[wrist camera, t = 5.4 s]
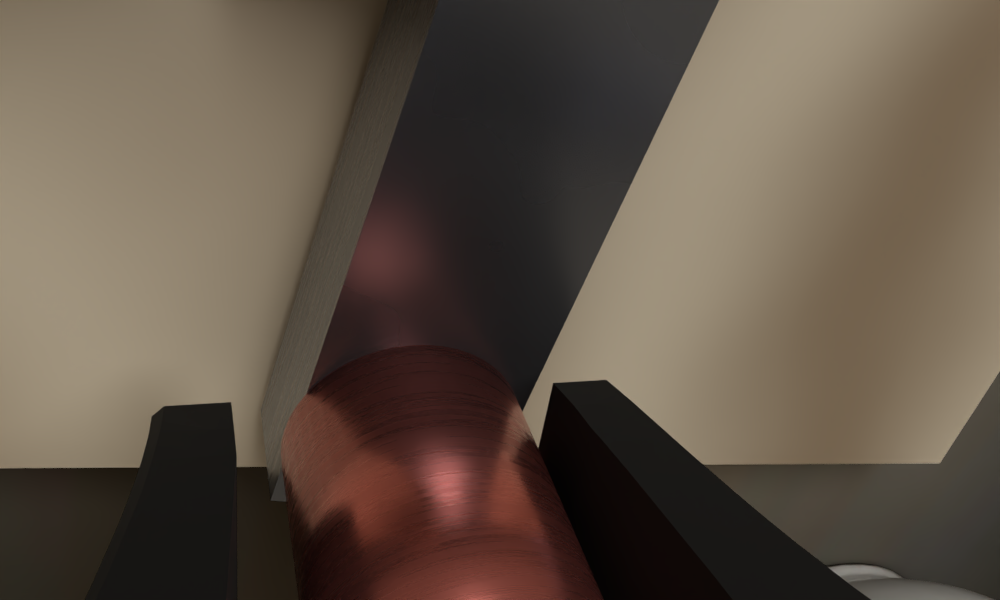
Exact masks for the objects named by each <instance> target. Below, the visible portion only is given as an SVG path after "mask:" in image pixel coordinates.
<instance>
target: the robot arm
mask: <svg viewBox="0 0 1000 600" xmlns="http://www.w3.org/2000/svg"><path fill="white" fill-rule="evenodd" d="M538 449H539V452H540V454H541V456H542V458H543V461H544V463H545V465H546V468H547V470H548V472H549V475H550V477H551V479H552V482H553V484H554V486H555V488H556V491H557V493H558V495H559V498H560V500H561V502H562V505H563V507H564V509H565V512H566V514H567V516H568V518H569V521H570V523H571V525H572V528H573V530H574V532H575V535H576V537H577V539H578V541H579V544H580V546H581V548H582V551H583V553H584V555H585V558H586V560H587V562H588V565H589V567H590V569H591V571H592V574H593V576H594V578H595V581H596V583H597V585H598V588H599V590H600V592H601V595H602V597H603V599H604V600H871V599H870V598H868V597H867V596H865V595H864V594H863V593H861V592H860V591H858V590H857V589H856V588H854V587H853V586H852V585H850V584H849V583H848V582H846V581H845V580H844V579H842V578H841V577H840V576H839V575H837V574H836V573H835V572H833V571H832V570H831V569H829V568H828V567H827V566H826V565H824V564H823V563H822V562H820V561H819V560H818V559H816V558H815V557H814V556H813V555H811V554H810V553H809V552H807V551H806V550H805V549H803V548H802V547H801V546H799V545H798V544H797V543H796V542H794V541H793V540H792V539H791V538H790V537H788V536H787V535H786V534H785V533H783V532H782V531H781V530H780V529H778V528H777V527H776V526H775V525H773V524H772V523H771V522H770V521H769V520H767V519H766V518H765V517H764V516H763V515H761V514H760V513H759V512H758V511H757V510H755V509H754V508H753V507H752V506H751V505H749V504H748V503H747V502H746V501H745V500H743V499H742V498H741V497H740V496H739V495H738V494H736V493H735V492H734V491H733V490H732V489H731V488H729V487H728V486H727V485H726V484H725V483H724V482H722V481H721V480H720V479H719V478H718V477H717V476H716V475H714V474H713V473H712V472H711V471H710V470H709V469H708V468H706V467H705V466H704V465H703V464H702V463H701V462H700V461H698V460H697V459H696V458H695V457H694V456H693V455H692V454H691V453H689V452H688V451H687V450H686V449H685V448H684V447H683V446H681V445H680V444H679V443H678V442H677V441H676V440H675V439H674V438H672V437H671V436H670V435H669V434H668V433H667V432H666V431H665V430H664V429H662V428H661V427H660V426H659V425H658V424H657V423H656V422H655V421H653V420H652V419H651V418H650V417H649V416H648V415H647V414H646V413H644V412H643V411H642V410H641V409H640V408H639V407H638V406H637V405H635V404H634V403H633V402H632V401H631V400H630V399H629V398H627V397H626V396H625V395H624V394H623V393H622V392H620V391H619V390H618V389H617V388H616V387H614V386H613V385H612V384H611V383H610V382H608V381H607V380H595V381H578V382H561V383H553V386H552V390H551V395H550V399H549V403H548V408H547V412H546V417H545V421H544V425H543V430H542V434H541V439H540V443H539V447H538ZM85 600H237V454H236V444H235V433H234V423H233V414H232V405H231V402H225V403H208V404H192V405H175V406H164V407H162V408H161V409H160V410H159V411H158V412H156V413H155V414H154V415H153V416H152V417H151V423H150V430H149V435H148V439H147V443H146V447H145V450H144V454H143V458H142V461H141V464H140V467H139V470H138V473H137V476H136V479H135V482H134V485H133V488H132V490H131V493H130V496H129V498H128V501H127V504H126V506H125V509H124V512H123V514H122V517H121V519H120V522H119V524H118V526H117V529H116V531H115V533H114V536H113V538H112V540H111V542H110V545H109V547H108V549H107V551H106V554H105V556H104V558H103V561H102V563H101V565H100V567H99V570H98V572H97V574H96V576H95V579H94V581H93V583H92V585H91V588H90V590H89V592H88V594H87V596H86V598H85Z"/></svg>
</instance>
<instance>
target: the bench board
mask: <svg viewBox="0 0 1000 600" xmlns="http://www.w3.org/2000/svg"><path fill="white" fill-rule="evenodd" d="M387 1H388V0H0V468H139V467H140V464H141V461H142V458H143V454H144V450H145V447H146V443H147V439H148V435H149V430H150V423H151V417H152V416H153V415H154V414H155V413H156V412H158V411H159V410H160V409H161V408H162V407H164V406H175V405H192V404H208V403H225V402H231V405H232V414H233V423H234V433H235V444H236V454H237V467H267V463H266V454H265V445H264V435H263V426H262V417H261V407H262V404H263V401H264V397H265V394H266V391H267V388H268V384H269V381H270V378H271V375H272V372H273V368H274V365H275V362H276V359H277V355H278V352H279V349H280V346H281V343H282V339H283V336H284V333H285V330H286V327H287V323H288V320H289V317H290V314H291V310H292V307H293V304H294V301H295V298H296V294H297V291H298V288H299V285H300V281H301V278H302V275H303V272H304V269H305V265H306V262H307V259H308V256H309V252H310V249H311V246H312V243H313V240H314V236H315V233H316V230H317V227H318V224H319V220H320V217H321V214H322V211H323V207H324V204H325V201H326V198H327V195H328V191H329V188H330V185H331V182H332V178H333V175H334V172H335V169H336V166H337V162H338V159H339V156H340V153H341V149H342V146H343V143H344V140H345V137H346V133H347V130H348V127H349V124H350V121H351V117H352V114H353V111H354V108H355V104H356V101H357V98H358V95H359V92H360V88H361V85H362V82H363V79H364V75H365V72H366V69H367V66H368V63H369V59H370V56H371V53H372V50H373V46H374V43H375V40H376V37H377V34H378V30H379V27H380V24H381V21H382V18H383V14H384V11H385V8H386V5H387ZM999 371H1000V0H719V2H718V4H717V6H716V8H715V10H714V12H713V14H712V16H711V18H710V21H709V23H708V25H707V27H706V29H705V31H704V33H703V35H702V37H701V39H700V41H699V44H698V46H697V48H696V50H695V52H694V54H693V56H692V58H691V60H690V62H689V64H688V67H687V69H686V71H685V73H684V75H683V77H682V79H681V81H680V83H679V85H678V87H677V90H676V92H675V94H674V96H673V98H672V100H671V102H670V104H669V106H668V108H667V110H666V113H665V115H664V117H663V119H662V121H661V123H660V125H659V127H658V129H657V131H656V133H655V136H654V138H653V140H652V142H651V144H650V146H649V148H648V150H647V152H646V154H645V156H644V158H643V161H642V163H641V165H640V167H639V169H638V171H637V173H636V175H635V177H634V179H633V181H632V184H631V186H630V188H629V190H628V192H627V194H626V196H625V198H624V200H623V202H622V204H621V207H620V209H619V211H618V213H617V215H616V217H615V219H614V221H613V223H612V225H611V227H610V230H609V232H608V234H607V236H606V238H605V240H604V242H603V244H602V246H601V248H600V250H599V253H598V255H597V257H596V259H595V261H594V263H593V265H592V267H591V269H590V271H589V273H588V276H587V278H586V280H585V282H584V284H583V286H582V288H581V290H580V292H579V294H578V296H577V299H576V301H575V303H574V305H573V307H572V309H571V311H570V313H569V315H568V317H567V319H566V322H565V324H564V326H563V328H562V330H561V332H560V334H559V336H558V338H557V340H556V342H555V345H554V347H553V349H552V351H551V353H550V355H549V357H548V359H547V361H546V363H545V365H544V368H543V370H542V372H541V374H540V376H539V378H538V380H537V382H536V384H535V386H534V388H533V391H532V393H531V395H530V397H529V399H528V401H527V403H526V405H525V407H524V409H523V411H522V412H523V415H524V417H525V419H526V422H527V424H528V426H529V428H530V431H531V433H532V435H533V438H534V440H535V442H536V445H537V447H539V443H540V439H541V434H542V430H543V425H544V421H545V417H546V412H547V408H548V403H549V399H550V395H551V390H552V386H553V383H561V382H578V381H595V380H607V381H608V382H610V383H611V384H612V385H613V386H614V387H616V388H617V389H618V390H619V391H620V392H622V393H623V394H624V395H625V396H626V397H627V398H629V399H630V400H631V401H632V402H633V403H634V404H635V405H637V406H638V407H639V408H640V409H641V410H642V411H643V412H644V413H646V414H647V415H648V416H649V417H650V418H651V419H652V420H653V421H655V422H656V423H657V424H658V425H659V426H660V427H661V428H662V429H664V430H665V431H666V432H667V433H668V434H669V435H670V436H671V437H672V438H674V439H675V440H676V441H677V442H678V443H679V444H680V445H681V446H683V447H684V448H685V449H686V450H687V451H688V452H689V453H691V454H692V455H693V456H694V457H695V458H696V459H697V460H698V461H700V462H701V463H702V464H703V465H724V464H917V463H940V462H941V461H942V459H943V458H944V456H945V455H946V453H947V452H948V450H949V448H950V447H951V445H952V444H953V442H954V441H955V439H956V438H957V436H958V435H959V433H960V431H961V430H962V428H963V427H964V425H965V424H966V422H967V421H968V419H969V418H970V416H971V415H972V413H973V411H974V410H975V408H976V407H977V405H978V404H979V402H980V401H981V399H982V398H983V396H984V395H985V393H986V391H987V390H988V388H989V387H990V385H991V384H992V382H993V381H994V379H995V378H996V376H997V375H998V373H999Z"/></svg>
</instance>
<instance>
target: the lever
mask: <svg viewBox="0 0 1000 600" xmlns="http://www.w3.org/2000/svg"><path fill="white" fill-rule="evenodd" d="M718 2H719V0H388V1H387V5H386V8H385V11H384V14H383V18H382V21H381V24H380V27H379V30H378V34H377V37H376V40H375V43H374V46H373V50H372V53H371V56H370V59H369V63H368V66H367V69H366V72H365V75H364V79H363V82H362V85H361V88H360V92H359V95H358V98H357V101H356V104H355V108H354V111H353V114H352V117H351V121H350V124H349V127H348V130H347V133H346V137H345V140H344V143H343V146H342V149H341V153H340V156H339V159H338V162H337V166H336V169H335V172H334V175H333V178H332V182H331V185H330V188H329V191H328V195H327V198H326V201H325V204H324V207H323V211H322V214H321V217H320V220H319V224H318V227H317V230H316V233H315V236H314V240H313V243H312V246H311V249H310V252H309V256H308V259H307V262H306V265H305V269H304V272H303V275H302V278H301V281H300V285H299V288H298V291H297V294H296V298H295V301H294V304H293V307H292V310H291V314H290V317H289V320H288V323H287V327H286V330H285V333H284V336H283V339H282V343H281V346H280V349H279V352H278V355H277V359H276V362H275V365H274V368H273V372H272V375H271V378H270V381H269V384H268V388H267V391H266V394H265V397H264V401H263V404H262V407H261V417H262V426H263V435H264V445H265V454H266V463H267V472H268V482H269V491H270V500H271V501H284V502H286V503H287V511H288V518H289V526H290V534H291V542H292V550H293V558H294V566H295V574H296V582H297V590H298V598H299V600H604V599H603V597H602V595H601V592H600V590H599V588H598V585H597V583H596V581H595V578H594V576H593V574H592V571H591V569H590V567H589V565H588V562H587V560H586V558H585V555H584V553H583V551H582V548H581V546H580V544H579V541H578V539H577V537H576V535H575V532H574V530H573V528H572V525H571V523H570V521H569V518H568V516H567V514H566V512H565V509H564V507H563V505H562V502H561V500H560V498H559V495H558V493H557V491H556V488H555V486H554V484H553V482H552V479H551V477H550V475H549V472H548V470H547V468H546V465H545V463H544V461H543V458H542V456H541V454H540V452H539V449H538V447H537V445H536V442H535V440H534V438H533V435H532V433H531V431H530V428H529V426H528V424H527V422H526V419H525V417H524V415H523V412H522V411H523V409H524V407H525V405H526V403H527V401H528V399H529V397H530V395H531V393H532V391H533V388H534V386H535V384H536V382H537V380H538V378H539V376H540V374H541V372H542V370H543V368H544V365H545V363H546V361H547V359H548V357H549V355H550V353H551V351H552V349H553V347H554V345H555V342H556V340H557V338H558V336H559V334H560V332H561V330H562V328H563V326H564V324H565V322H566V319H567V317H568V315H569V313H570V311H571V309H572V307H573V305H574V303H575V301H576V299H577V296H578V294H579V292H580V290H581V288H582V286H583V284H584V282H585V280H586V278H587V276H588V273H589V271H590V269H591V267H592V265H593V263H594V261H595V259H596V257H597V255H598V253H599V250H600V248H601V246H602V244H603V242H604V240H605V238H606V236H607V234H608V232H609V230H610V227H611V225H612V223H613V221H614V219H615V217H616V215H617V213H618V211H619V209H620V207H621V204H622V202H623V200H624V198H625V196H626V194H627V192H628V190H629V188H630V186H631V184H632V181H633V179H634V177H635V175H636V173H637V171H638V169H639V167H640V165H641V163H642V161H643V158H644V156H645V154H646V152H647V150H648V148H649V146H650V144H651V142H652V140H653V138H654V136H655V133H656V131H657V129H658V127H659V125H660V123H661V121H662V119H663V117H664V115H665V113H666V110H667V108H668V106H669V104H670V102H671V100H672V98H673V96H674V94H675V92H676V90H677V87H678V85H679V83H680V81H681V79H682V77H683V75H684V73H685V71H686V69H687V67H688V64H689V62H690V60H691V58H692V56H693V54H694V52H695V50H696V48H697V46H698V44H699V41H700V39H701V37H702V35H703V33H704V31H705V29H706V27H707V25H708V23H709V21H710V18H711V16H712V14H713V12H714V10H715V8H716V6H717V4H718Z"/></svg>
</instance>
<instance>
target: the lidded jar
mask: <svg viewBox="0 0 1000 600" xmlns="http://www.w3.org/2000/svg"><path fill="white" fill-rule="evenodd" d="M827 567H828V568H829V569H831V570H832V571H833V572H835V573H836V574H837V575H839V576H840V577H841V578H842V579H844V580H845V581H846V582H848V583H849V584H850V585H852V586H853V587H854V588H856V589H857V590H858V591H860V592H861V593H863V594H864V595H865V596H867V597H868V598H870V599H871V600H995V599H992V598H990V597H987V596H984V595H982V594H979V593H976V592H973V591H970V590H967V589H963V588H959V587H954V586H950V585H945V584H941V583H937V582H929V581H920V580H912V579H903V578H902V577H901V576H900V575H898V574H897V573H895V572H893V571H892V570H890V569H887V568H883V567H880V566H877V565H869V564H839V565H832V566H827Z"/></svg>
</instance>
